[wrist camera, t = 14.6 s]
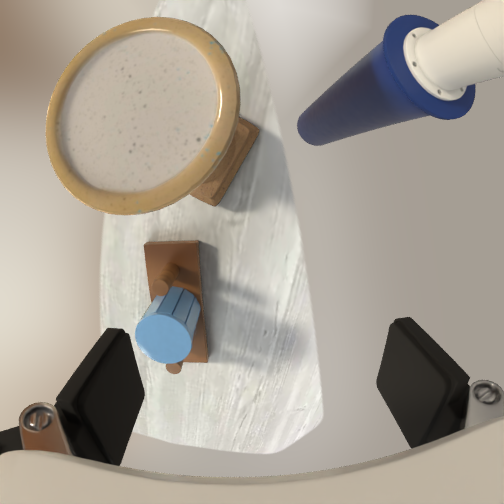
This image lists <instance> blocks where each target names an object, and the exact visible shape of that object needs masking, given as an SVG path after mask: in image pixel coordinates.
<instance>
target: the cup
mask: <svg viewBox="0 0 504 504" xmlns="http://www.w3.org/2000/svg"><path fill="white" fill-rule="evenodd" d="M200 311H201V308H200V305H199V303H198V301H197V299H196V297H194V295H193V294H192V293H190V292H189V291H187V290H186V289H184V288H180V287H174V286H172V287H171V288H170V290H169V291H168V293H167V294H166V295H165V296H158V295H156V296H155V298H154V299H153V301H152V302H151V304H150V305H149V307H148V309H147V310H146V312H145V313H144V315H143V316H142V318H141V320H140V321H139V323H138V324H137V327H136V331H135V338H136V342H137V344H138V346H139V348H140V349H141V351H142V352H143V353H144V354H145V355H146V356H148V357H149V358H151V359H152V360H154V361H157V362H160V363H165V364H173V363H177V362H180V361H182V360H183V359H185V358H186V357H187V356H188V354H189V353H190V350H191V348H192V346H193V342H194V338H195V334H196V331H197V327H198V323H199V319H200Z"/></svg>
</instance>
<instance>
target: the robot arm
mask: <svg viewBox="0 0 504 504" xmlns="http://www.w3.org/2000/svg"><path fill="white" fill-rule="evenodd" d="M403 50H404V56H405V60H406V63H407V65H408V68H409V70H410V71H411V73H412V75H413V76H414V78H415V79H416V81H417V82H418V83H419V84H420V85H421V86H422V87H423V88H424V89H425V90H426V91H427V92H428V93H429V94H431V95H432V96H434V97H436V98H438V99H440V100H444V101H452V100H456V99H458V98H460V97H461V96H462V95H463V94H464V93H465V91H466V87H467V86H468V85H472V84H476V83H480V82H484V81H488V80H492V79H496V78H500V77H504V0H483V1H481V2H479V3H477V4H476V5H474V6H472V7H470V8H468V9H467V10H465V11H463V12H461V13H460V14H458V15H456V16H454V17H453V18H451V19H449V20H448V21H446V22H444V23H443V24H441V25H439V26H438V27H436V28H434V29H433V30H432V29H429V28H423V27H421V28H416V29H414V30H412V31H411V32H409V33H408V34H407V36H406V37H405V40H404V45H403ZM469 379H470V377H469V376H468V375H467V374H466V373H465V372H464V370H463V369H462V368H461V367H460V366H458V364H457V363H456V362H455V361H454V360H453V359H452V358H451V357H450V356H449V355H448V354H447V353H446V352H445V351H444V350H443V349H442V348H441V347H440V346H439V345H438V344H437V343H436V342H435V341H434V340H433V339H432V338H431V337H430V336H429V335H428V334H427V333H426V332H425V331H424V330H423V329H422V328H421V327H420V326H419V325H418V324H417V323H416V322H415V321H414V320H413V319H412V318H410V317H405V318H398V319H395V320H394V323H392V324H391V325H390V327H389V332H388V336H387V341H386V345H385V349H384V353H383V357H382V361H381V365H380V369H379V373H378V376H377V388H378V390H379V391H380V393H381V395H382V397H383V399H384V400H385V402H386V403H387V406H388V407H389V409H390V411H391V413H392V415H393V416H394V418H395V420H396V422H397V424H398V425H399V427H400V429H401V431H402V433H403V435H404V436H405V438H406V440H407V442H408V444H409V446H410V447H411V448H412V449H409V450H406V451H403V452H400V453H397V454H394V455H390V456H386V457H383V458H379V459H375V460H371V461H367V462H363V463H358V464H354V465H349V466H344V467H339V468H334V469H328V470H321V471H315V472H307V473H299V474H291V475H280V476H265V477H201V476H186V475H174V474H165V473H158V472H151V471H144V470H137V469H132V468H126V467H121V466H120V464H121V461H122V458H123V456H124V453H125V450H126V447H127V444H128V441H129V438H130V436H131V433H132V430H133V427H134V425H135V422H136V419H137V416H138V414H139V411H140V408H141V406H142V403H143V400H144V396H145V392H144V387H143V384H142V381H141V377H140V374H139V370H138V367H137V363H136V359H135V355H134V351H133V348H132V343H131V339H130V336H129V334H128V333H125V331H124V330H123V329H118V328H107V329H106V331H105V332H104V333H103V334H102V336H101V337H100V338H99V340H98V341H97V342H96V344H95V345H94V346H93V348H92V349H91V350H90V352H89V353H88V354H87V356H86V357H85V359H84V360H83V361H82V363H81V364H80V365H79V367H78V368H77V369H76V371H75V372H74V373H73V375H72V376H71V378H70V379H69V380H68V382H67V383H66V385H65V386H64V388H63V389H62V391H61V392H60V394H59V395H58V396H57V398H56V401H57V402H56V404H55V405H54V406H53V405H51V404H49V403H45V402H39V403H34V404H31V405H29V406H28V407H26V408H25V409H24V410H23V411H22V413H21V415H20V417H19V426H17V427H14V428H11V429H8V430H4V431H1V432H0V504H504V391H503V390H502V388H501V387H500V386H499V385H498V384H496V383H494V382H492V381H489V380H478V381H476V382H474V383H473V384H472V385H471V386H469V385H468V381H469Z"/></svg>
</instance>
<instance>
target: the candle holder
mask: <svg viewBox="0 0 504 504" xmlns="http://www.w3.org/2000/svg"><path fill="white" fill-rule="evenodd" d="M239 111H240V86H239V82H238V77H237V73H236V70H235V68H234V65H233V63H232V61H231V58H230V57H229V55H228V54H227V52H226V51H225V49H224V48H223V46H222V45H221V44H220V43H219V42H218V41H217V40H216V39H215V38H214V37H213V36H212V35H211V34H209V33H208V32H206V31H205V30H203V29H202V28H200V27H198V26H196V25H194V24H192V23H189V22H187V21H183V20H179V19H175V18H167V17H151V18H142V19H137V20H133V21H129V22H126V23H123V24H121V25H118V26H116V27H113V28H111V29H110V30H108V31H106V32H104V33H102V34H101V35H99V36H98V37H96V38H95V39H94V40H92V41H91V42H90V43H88V44H87V45H86V46H85V47H84V48H83V49H82V50H81V51H80V52H79V53H78V54H77V55H76V56H75V57H74V58H73V60H72V61H71V62H70V63H69V65H68V66H67V67H66V69H65V71H64V72H63V74H62V76H61V77H60V79H59V80H58V83H57V85H56V87H55V89H54V91H53V94H52V97H51V100H50V104H49V107H48V112H47V118H46V143H47V151H48V154H49V158H50V162H51V164H52V167H53V169H54V171H55V173H56V175H57V177H58V178H59V180H60V181H61V183H62V184H63V186H64V187H65V188H66V189H67V190H68V191H69V192H70V193H71V194H72V195H73V196H74V197H75V198H76V199H78V200H79V201H81V202H82V203H83V204H85V205H87V206H89V207H91V208H93V209H95V210H98V211H101V212H105V213H109V214H115V215H137V214H145V213H149V212H153V211H157V210H160V209H162V208H164V207H167V206H169V205H172V204H174V203H176V202H177V201H179V200H180V199H182V198H184V197H185V196H187V195H189V194H190V195H192V196H194V197H195V198H197V199H199V200H201V201H203V202H205V203H208V204H210V205H212V206H216V205H217V204H218V203H219V202H220V200H221V199H222V197H223V196H224V194H225V192H226V190H227V189H228V187H229V185H230V183H231V182H232V180H233V178H234V176H235V174H236V173H237V171H238V169H239V167H240V166H241V164H242V162H243V161H244V159H245V157H246V155H247V154H248V152H249V150H250V149H251V147H252V145H253V143H254V141H255V140H256V138H257V136H258V133H259V129H258V128H257V127H255V126H254V125H252V124H251V123H249V122H248V121H246V120H244V119H242V118H240V117H239Z"/></svg>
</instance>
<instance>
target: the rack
mask: <svg viewBox="0 0 504 504" xmlns="http://www.w3.org/2000/svg"><path fill="white" fill-rule="evenodd" d="M144 252H145V260H146V268H147V276H148V283H149V290H150V297H151V302H152V301H153V299H154V298H155V296H156V295H158V296H165V295H166V294H167V293H168V291H169V290H170V288H171V287H172V286H174V287H180V288H184V289H186V290H187V291H189V292H190V293H192V294H193V295H194V297H196V299H197V301H198V303H199V305H200V308H201V311H200V319H199V323H198V327H197V331H196V334H195V338H194V342H193V346H192V348H191V350H190V353H189V354H188V356H187V357H186V358H185V359H183V360H182V361H180V362H177V363H173V364H166V369H167V370H168V371H169V372H170V373H172V374H178V373H179V372H180V371H181V369H182V365H183V362H204V363H207V362H208V357H209V356H208V347H207V338H206V329H205V319H204V308H203V297H202V285H201V272H200V259H199V243H198V240H195V241H165V242H147V243H146V244H144Z"/></svg>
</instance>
